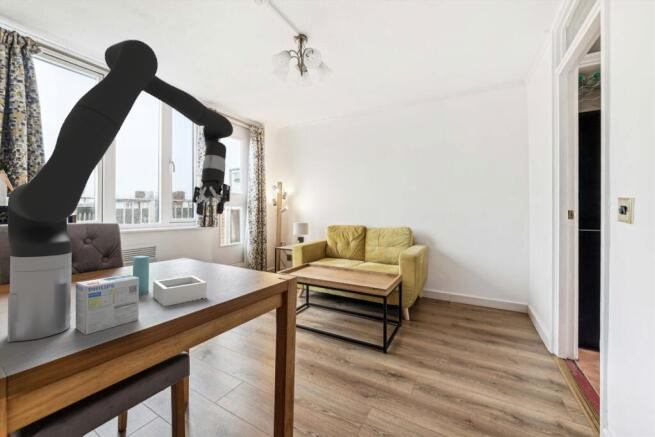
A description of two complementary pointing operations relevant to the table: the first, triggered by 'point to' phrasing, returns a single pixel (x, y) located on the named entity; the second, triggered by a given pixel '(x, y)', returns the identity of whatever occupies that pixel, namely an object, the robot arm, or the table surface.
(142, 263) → the peg
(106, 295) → the light bulb box
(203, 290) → the hole box
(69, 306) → the robot arm
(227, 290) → the table surface
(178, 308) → the table surface
